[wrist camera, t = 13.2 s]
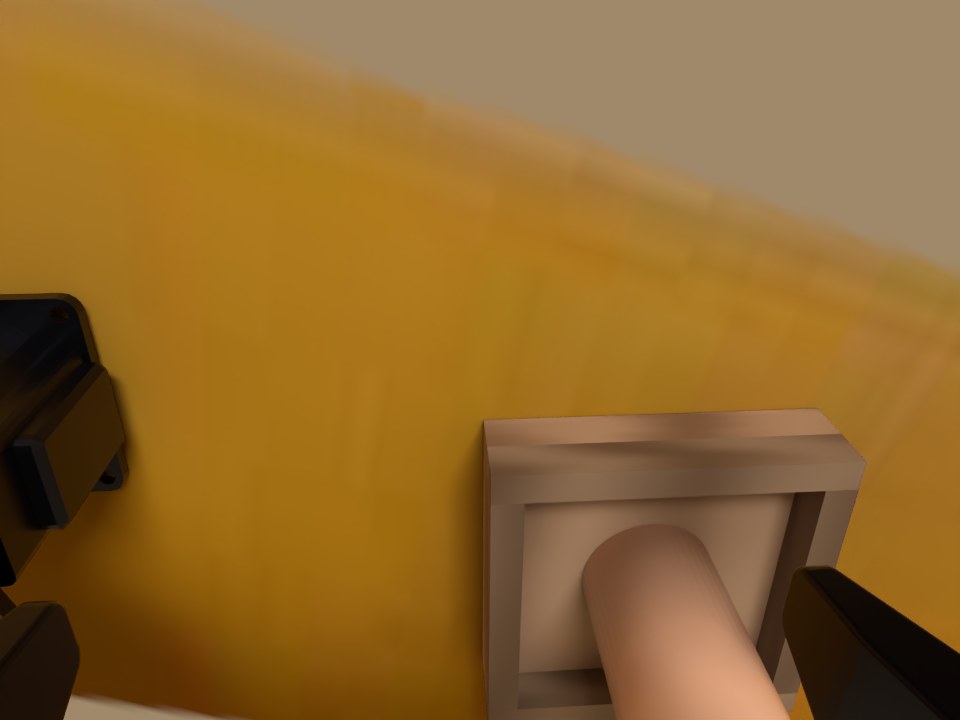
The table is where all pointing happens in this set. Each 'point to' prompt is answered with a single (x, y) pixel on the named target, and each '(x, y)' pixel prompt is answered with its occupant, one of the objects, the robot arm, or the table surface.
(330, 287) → the table surface
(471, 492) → the table surface
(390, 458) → the table surface
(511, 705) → the square wooden tray
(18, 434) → the robot arm
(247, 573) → the table surface
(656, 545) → the peach tall rounded piece
